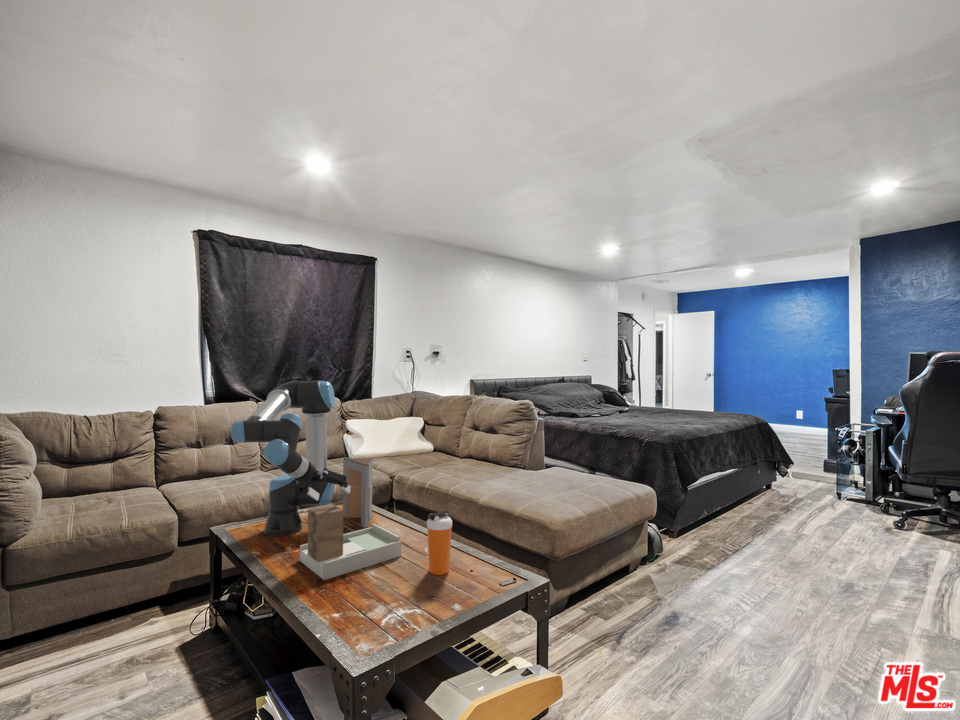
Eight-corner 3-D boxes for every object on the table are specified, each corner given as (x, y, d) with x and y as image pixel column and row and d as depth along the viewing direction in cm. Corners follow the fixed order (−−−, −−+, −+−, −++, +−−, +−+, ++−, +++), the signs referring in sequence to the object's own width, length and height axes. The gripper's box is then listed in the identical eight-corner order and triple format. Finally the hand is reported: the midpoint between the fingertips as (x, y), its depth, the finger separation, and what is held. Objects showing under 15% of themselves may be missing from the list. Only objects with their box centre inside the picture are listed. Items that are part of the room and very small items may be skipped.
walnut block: (307, 554, 167) (308, 509, 167) (331, 547, 173) (332, 504, 173) (318, 562, 160) (318, 515, 160) (342, 555, 166) (343, 509, 167)
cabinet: (342, 517, 220) (343, 457, 220) (361, 512, 226) (362, 454, 227) (365, 528, 204) (365, 464, 205) (384, 523, 211) (384, 461, 211)
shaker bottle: (457, 570, 164) (457, 513, 164) (438, 578, 157) (438, 519, 157) (440, 563, 170) (440, 507, 170) (421, 570, 163) (421, 513, 163)
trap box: (299, 560, 171) (299, 541, 171) (372, 540, 191) (372, 523, 191) (324, 580, 155) (324, 559, 156) (401, 555, 176) (401, 537, 176)
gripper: (267, 486, 163) (303, 509, 179) (330, 471, 158) (361, 496, 174) (272, 467, 168) (307, 491, 184) (333, 451, 163) (363, 477, 179)
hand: (333, 493), depth 179 cm, fingers open, 13 cm apart
